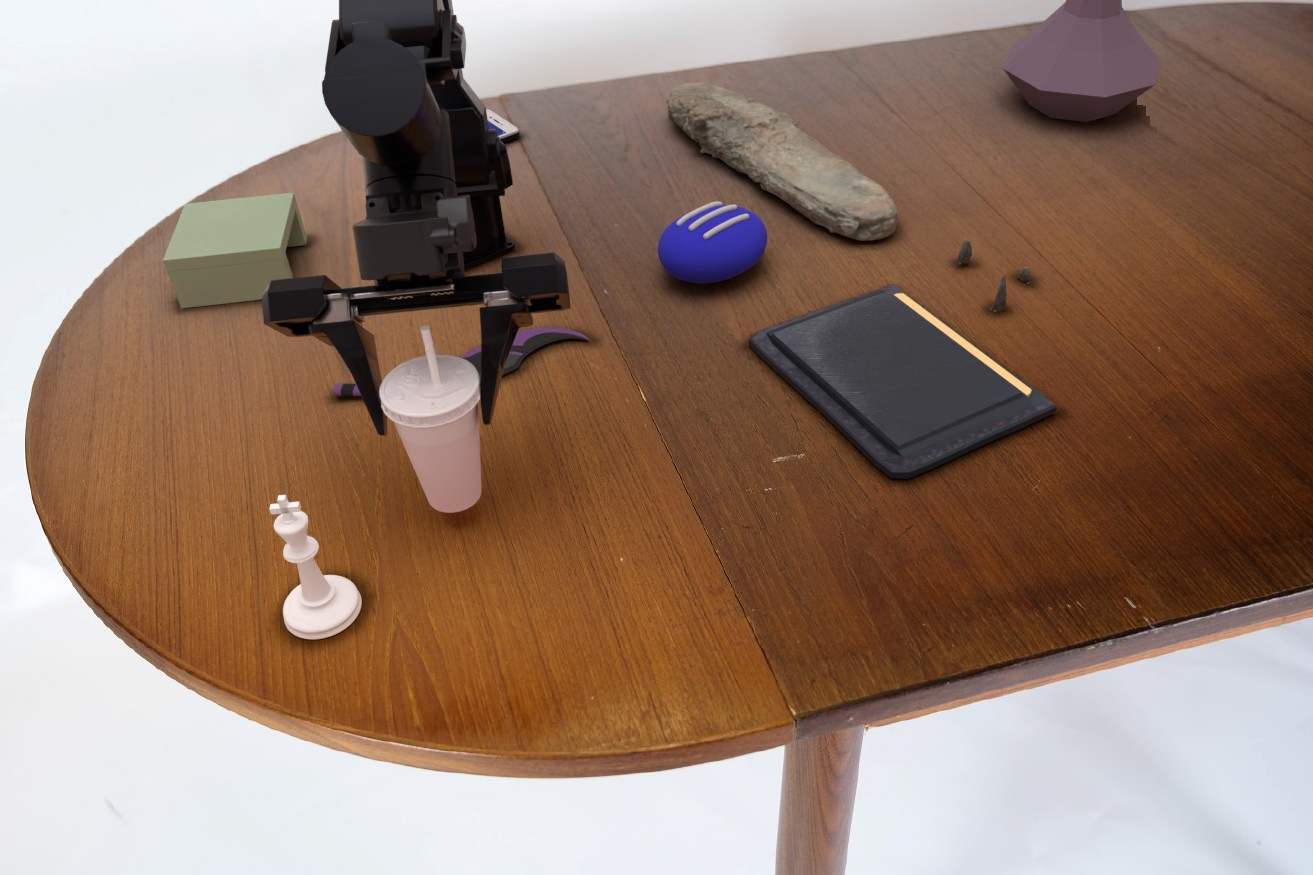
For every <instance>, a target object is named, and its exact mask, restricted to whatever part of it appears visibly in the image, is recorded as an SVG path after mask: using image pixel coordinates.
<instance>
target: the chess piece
mask: <svg viewBox="0 0 1313 875" xmlns="http://www.w3.org/2000/svg"><path fill="white" fill-rule="evenodd" d="M276 502H277V503H270V504H269V508H268V509H269V512H270V515H278V516H277V517H276V518H275V519H274V522H273V530H274V531H275V533H276V534H277V535H278V536H279V537H280V538H281V539H283V540H284V542H285V543H286V544H285V545H284V546H283V553H282V555H283V558H284V560H285V561H287V562H289V563H292V564H296V567H297V572H298V575H299V577H298V578H299V582H300V583H299V584H298V585H296V586H295V588H293V589H292V591H290V593H289V594H288V595H287V597H286V598H285V601H284V603H283V606H282V616H283V622H284V625H285V627H286V629H287V631H289V632H290V633H291V634H292V635H294V636H295V637H298V638H301V639H304V640H321V639H326V638H330V637H332V636H335V635H337V634H339V633H341V632H343V631H344V630H346V629H347V628H348V627H350V626H351V625H352V624H353V623H354V622H355V620H356V619H357V618H358V616H359V614H360V612H361V609H362V605H363V604H362V603H363V601H362V596H361V593H360V591H359V590H358V587H357V586H356V585H355V583H354V582H353V581H351V579H349V578H347V577H345V576H341V575H337V574H323V572H322V571H321V569H320V566H318V563H317V562H316V560H315V559H314V557H315V556H316V555H317V554H318V553H319V552H318V551H319V549H320V545H319V542H318V541H317V540H316V538H314V537H312V536H311V535H308V528H309V517H308V515H307V514H306V512H305V511H303V510H301V509H302V505H301V502H300V501H289V499H288V497H287V494H279V495H278V496H277V499H276Z"/></svg>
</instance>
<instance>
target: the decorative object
mask: <svg viewBox="0 0 1313 875" xmlns="http://www.w3.org/2000/svg"><path fill="white" fill-rule="evenodd" d="M767 246H768V232H767V228H766V225H765V223H764V221H762V219H761V217H759V215H757V214H756V213H754V212H752V211H751V210H749V209H747V208H744V207H743V206H742V207H741V206H738V205H737V204H723V202H722V201H719V200H718V201H712V202H709V203H707V204H704V205H702V206H700V207H698V208H695V209H693V210H690V211H689V212H686V213H685V214H683V215H681V216H679V217H677V218H676V219H675V220H674V221H672V222H671V223H670V224H669V225H668V226H667V227H666V228H665V229H664V230H663V232H662V233H661V235H660V238H659V240H658V245H657V256H658V259H659V260H658V261H659V262H660V264H661V266H662V267H663V268H664V270H665V271H666V272H667V273H668V274H669V275H671V276H672V277H674V278H676V279H678V280H681V281H685V282H687V283H692V284H693V283H694V284H714V283H719V282H724V281H726V280H729V279H732V278H734V277H737V276H739V275H741V274H743V273H745V272H746V271H748V270H750V269H751V268H752V267H753V266H755V265H756V264H757V263H758V262H759V261H760V259H761V258H762V257H763V255H764V253H765V251H766V248H767Z"/></svg>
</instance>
